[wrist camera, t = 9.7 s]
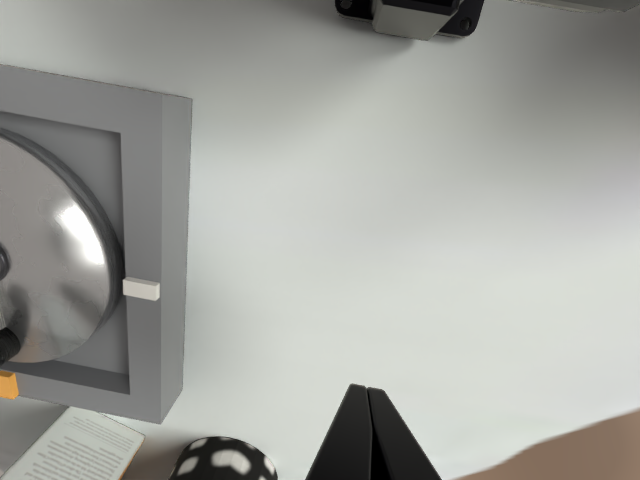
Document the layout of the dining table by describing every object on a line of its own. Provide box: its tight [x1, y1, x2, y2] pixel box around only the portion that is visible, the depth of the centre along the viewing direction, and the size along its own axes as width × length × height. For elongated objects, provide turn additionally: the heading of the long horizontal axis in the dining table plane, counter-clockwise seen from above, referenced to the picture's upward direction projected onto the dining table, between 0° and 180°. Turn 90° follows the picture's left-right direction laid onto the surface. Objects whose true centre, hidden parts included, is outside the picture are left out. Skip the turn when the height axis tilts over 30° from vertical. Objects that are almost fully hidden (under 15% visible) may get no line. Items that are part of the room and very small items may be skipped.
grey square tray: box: [0, 64, 192, 424], centre depth 20 cm, size 20×20×3 cm
